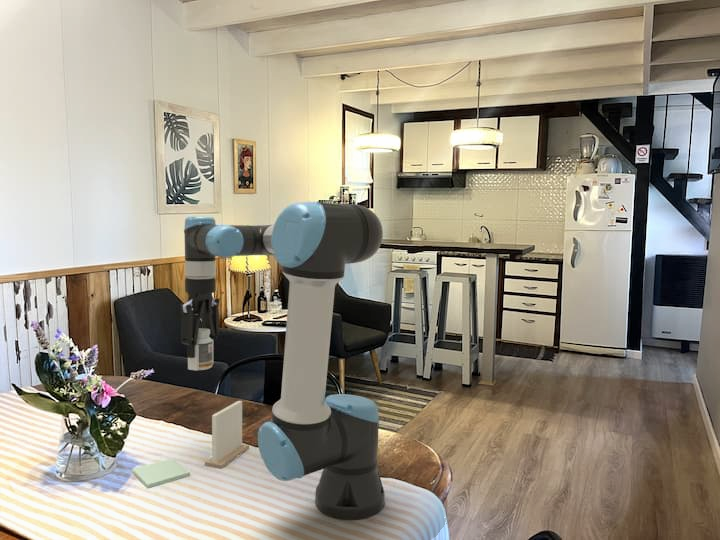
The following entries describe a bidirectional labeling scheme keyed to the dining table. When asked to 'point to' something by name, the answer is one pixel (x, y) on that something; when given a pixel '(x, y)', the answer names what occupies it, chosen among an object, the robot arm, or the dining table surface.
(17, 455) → the dining table surface
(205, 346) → the pill bottle
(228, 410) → the screen
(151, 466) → the coaster
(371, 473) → the robot arm
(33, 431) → the dining table surface
